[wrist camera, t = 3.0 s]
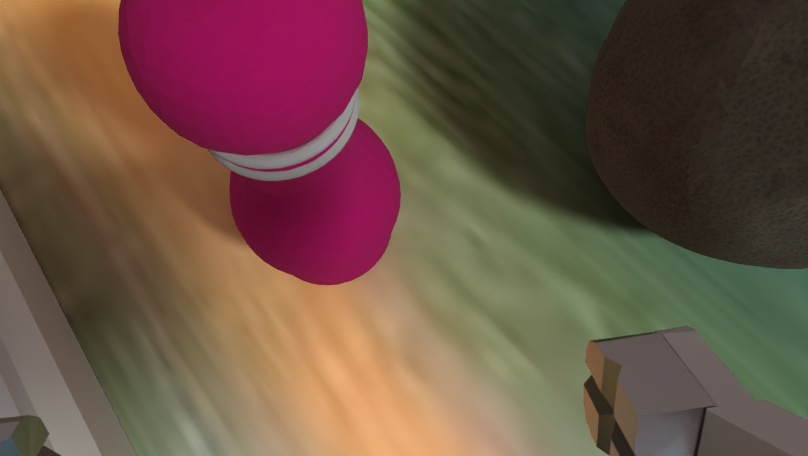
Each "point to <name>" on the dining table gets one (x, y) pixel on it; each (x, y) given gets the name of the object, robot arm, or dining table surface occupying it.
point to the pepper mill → (274, 121)
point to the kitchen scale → (47, 358)
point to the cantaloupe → (708, 125)
